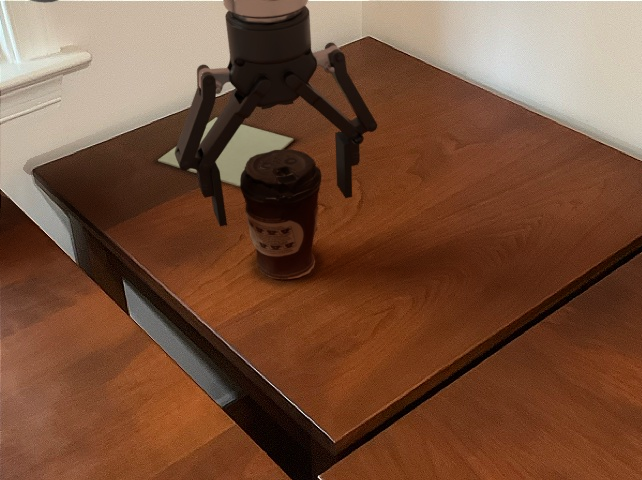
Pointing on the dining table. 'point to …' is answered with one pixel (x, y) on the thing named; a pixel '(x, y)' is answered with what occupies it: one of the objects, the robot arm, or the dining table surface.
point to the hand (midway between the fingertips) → (283, 205)
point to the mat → (238, 151)
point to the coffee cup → (282, 210)
